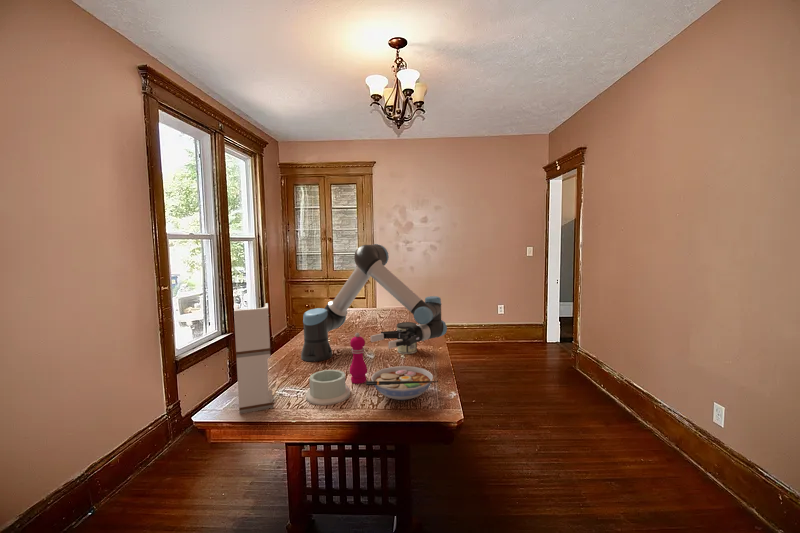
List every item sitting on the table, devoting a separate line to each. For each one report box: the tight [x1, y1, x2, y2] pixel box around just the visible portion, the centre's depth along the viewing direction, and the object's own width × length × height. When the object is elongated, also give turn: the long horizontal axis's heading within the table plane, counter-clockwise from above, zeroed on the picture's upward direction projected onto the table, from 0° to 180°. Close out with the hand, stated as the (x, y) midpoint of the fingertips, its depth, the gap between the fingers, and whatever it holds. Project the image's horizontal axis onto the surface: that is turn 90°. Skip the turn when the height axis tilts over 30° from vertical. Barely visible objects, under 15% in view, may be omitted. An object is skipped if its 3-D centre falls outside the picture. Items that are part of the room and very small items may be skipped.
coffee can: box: [396, 321, 418, 355], centre depth 188 cm, size 10×10×14 cm
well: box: [305, 369, 351, 406], centre depth 135 cm, size 16×16×8 cm
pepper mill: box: [349, 332, 368, 385], centre depth 148 cm, size 7×7×20 cm
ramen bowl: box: [365, 365, 439, 401], centre depth 133 cm, size 25×23×8 cm
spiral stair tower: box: [233, 302, 274, 414], centre depth 129 cm, size 11×11×35 cm
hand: (379, 342), depth 154 cm, fingers open, 13 cm apart
